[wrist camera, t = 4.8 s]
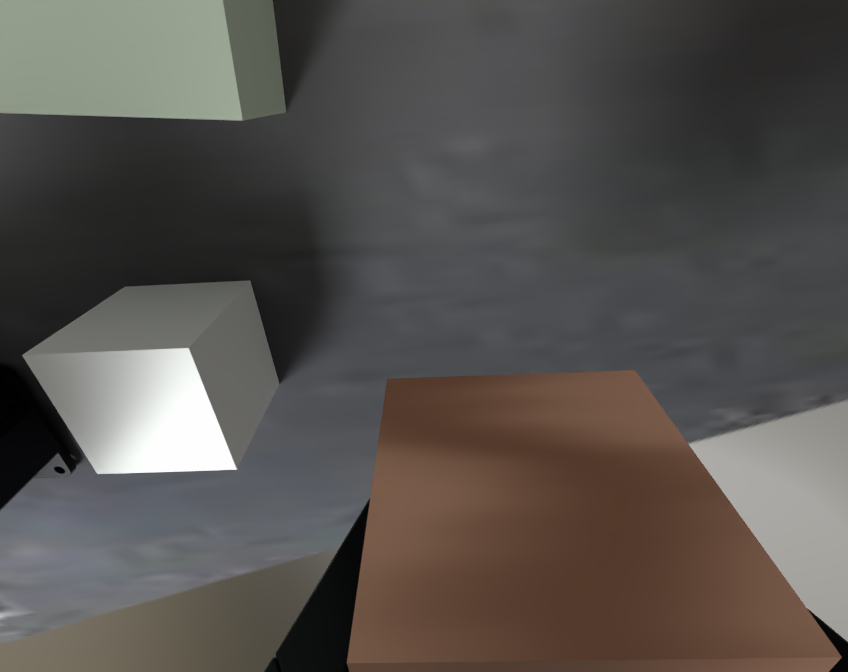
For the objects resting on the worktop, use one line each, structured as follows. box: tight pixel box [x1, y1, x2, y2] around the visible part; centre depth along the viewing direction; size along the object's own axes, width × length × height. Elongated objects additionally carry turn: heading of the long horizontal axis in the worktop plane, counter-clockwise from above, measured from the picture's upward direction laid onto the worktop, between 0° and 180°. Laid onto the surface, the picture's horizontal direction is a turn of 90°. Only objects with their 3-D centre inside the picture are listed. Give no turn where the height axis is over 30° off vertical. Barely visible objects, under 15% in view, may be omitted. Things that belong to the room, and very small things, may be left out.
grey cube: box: [22, 281, 279, 474], centre depth 16 cm, size 5×5×5 cm
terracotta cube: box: [347, 370, 842, 672], centre depth 8 cm, size 5×5×5 cm
